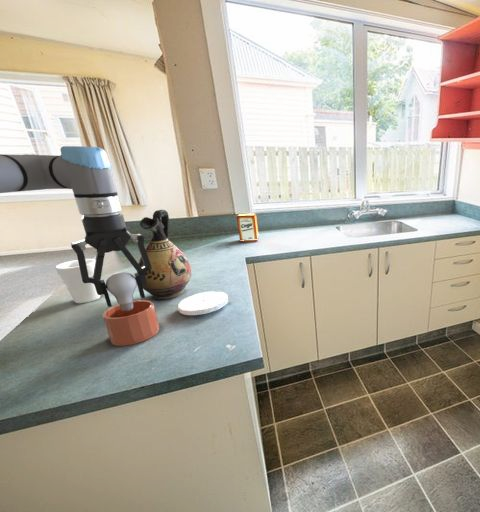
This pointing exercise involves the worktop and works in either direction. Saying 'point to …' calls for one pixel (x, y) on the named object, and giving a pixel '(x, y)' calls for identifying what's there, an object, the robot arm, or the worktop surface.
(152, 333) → the holder
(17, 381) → the worktop surface
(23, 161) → the robot arm
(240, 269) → the worktop surface
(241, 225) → the baking soda box
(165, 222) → the ceramic jug
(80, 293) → the foam cup
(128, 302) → the lightbulb
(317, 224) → the worktop surface
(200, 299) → the plastic lid
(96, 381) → the worktop surface
